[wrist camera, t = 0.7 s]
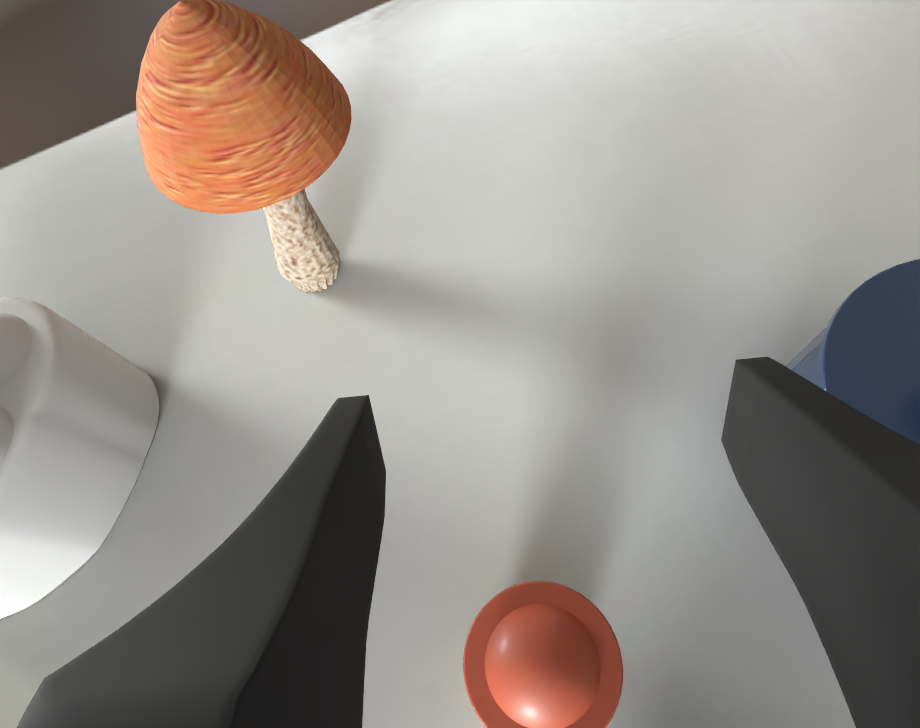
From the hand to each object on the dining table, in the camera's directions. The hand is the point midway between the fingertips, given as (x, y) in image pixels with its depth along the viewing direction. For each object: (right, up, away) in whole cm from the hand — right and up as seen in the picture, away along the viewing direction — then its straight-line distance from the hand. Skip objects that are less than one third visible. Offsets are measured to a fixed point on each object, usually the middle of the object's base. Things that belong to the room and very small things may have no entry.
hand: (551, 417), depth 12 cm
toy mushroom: (+1, -10, +12) cm, 16 cm away
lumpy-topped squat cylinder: (-22, -4, +17) cm, 29 cm away
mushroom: (-9, +6, +20) cm, 23 cm away
